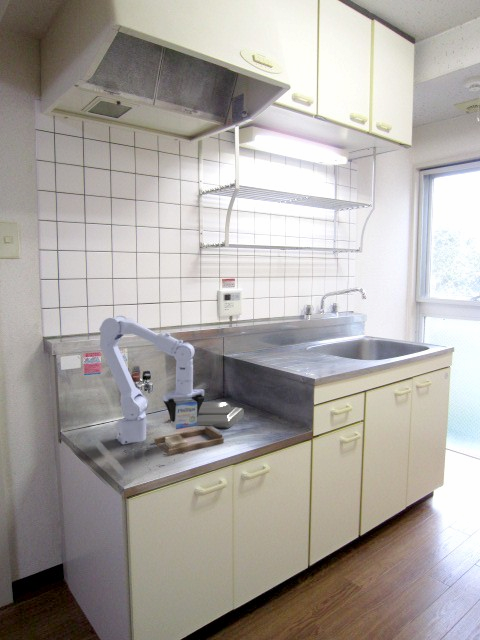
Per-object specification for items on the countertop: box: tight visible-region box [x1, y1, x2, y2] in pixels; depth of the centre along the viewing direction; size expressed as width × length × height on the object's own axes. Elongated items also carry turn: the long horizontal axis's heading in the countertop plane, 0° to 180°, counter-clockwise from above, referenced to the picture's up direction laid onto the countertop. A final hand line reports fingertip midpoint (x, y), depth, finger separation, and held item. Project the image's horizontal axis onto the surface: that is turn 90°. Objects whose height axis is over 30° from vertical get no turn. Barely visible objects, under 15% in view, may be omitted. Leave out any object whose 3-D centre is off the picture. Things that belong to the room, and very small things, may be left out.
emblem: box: [197, 401, 245, 429], centre depth 176 cm, size 28×5×28 cm
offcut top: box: [164, 435, 188, 449], centre depth 144 cm, size 5×7×2 cm
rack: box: [153, 425, 225, 456], centre depth 146 cm, size 20×12×4 cm, turn 124°
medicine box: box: [170, 398, 198, 430], centre depth 147 cm, size 8×4×9 cm, turn 122°
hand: (183, 418), depth 147 cm, fingers closed on medicine box, 7 cm apart
